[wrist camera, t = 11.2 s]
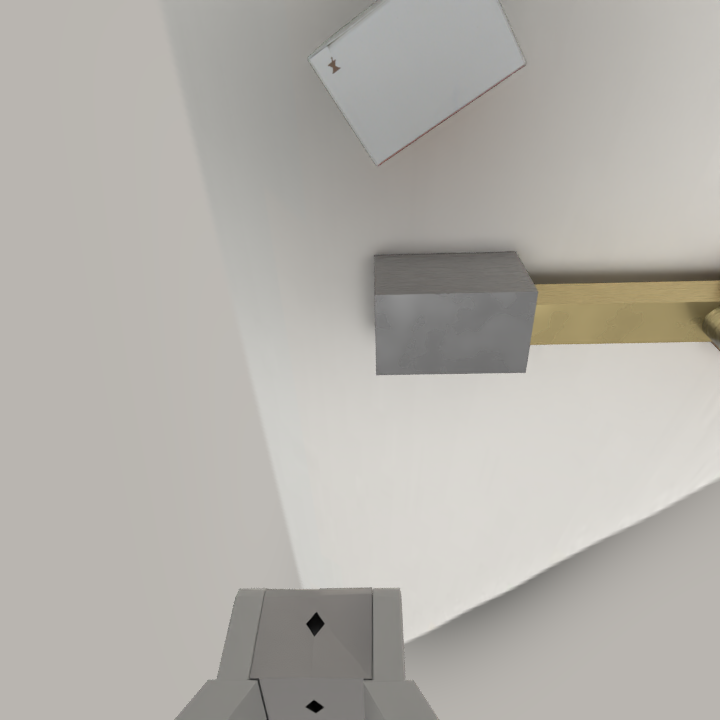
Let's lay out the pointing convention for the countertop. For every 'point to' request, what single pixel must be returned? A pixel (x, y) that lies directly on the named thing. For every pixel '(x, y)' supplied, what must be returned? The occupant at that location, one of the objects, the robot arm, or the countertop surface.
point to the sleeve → (452, 313)
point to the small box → (414, 66)
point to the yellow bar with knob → (627, 313)
